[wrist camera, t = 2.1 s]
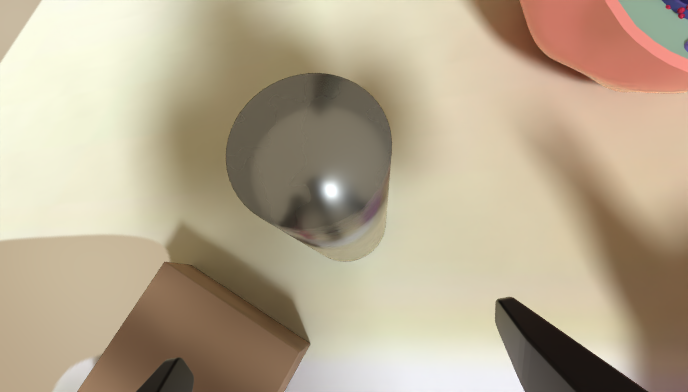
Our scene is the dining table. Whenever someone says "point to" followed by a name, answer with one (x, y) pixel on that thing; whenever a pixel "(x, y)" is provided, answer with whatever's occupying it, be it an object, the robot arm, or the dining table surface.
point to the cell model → (616, 40)
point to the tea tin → (315, 163)
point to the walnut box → (198, 339)
